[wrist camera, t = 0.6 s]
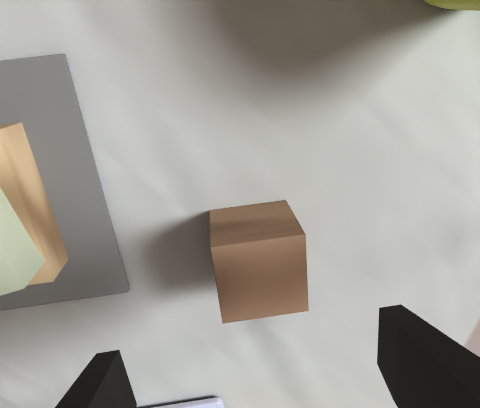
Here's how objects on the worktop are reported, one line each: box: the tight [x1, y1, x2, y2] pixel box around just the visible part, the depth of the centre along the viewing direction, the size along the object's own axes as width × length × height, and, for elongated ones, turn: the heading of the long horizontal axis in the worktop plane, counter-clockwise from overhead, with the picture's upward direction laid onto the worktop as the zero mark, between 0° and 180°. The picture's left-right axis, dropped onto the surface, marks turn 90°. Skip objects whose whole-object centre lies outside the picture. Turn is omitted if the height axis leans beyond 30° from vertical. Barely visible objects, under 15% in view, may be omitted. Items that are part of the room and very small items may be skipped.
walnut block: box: [209, 200, 308, 323], centre depth 17 cm, size 4×4×4 cm
